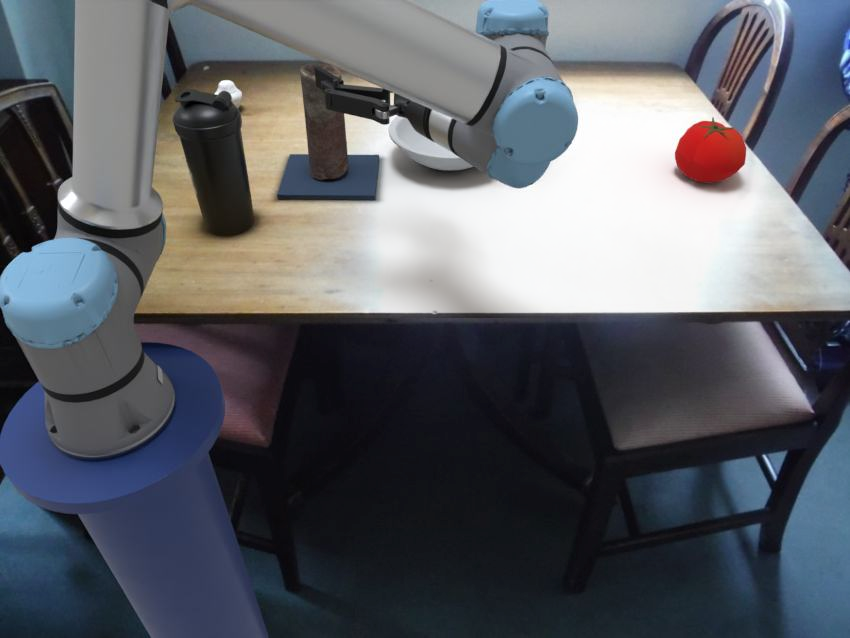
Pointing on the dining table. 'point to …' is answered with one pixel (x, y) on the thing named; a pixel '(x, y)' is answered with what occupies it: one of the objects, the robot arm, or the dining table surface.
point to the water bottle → (215, 159)
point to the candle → (323, 128)
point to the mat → (330, 180)
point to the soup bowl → (423, 147)
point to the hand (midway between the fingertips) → (357, 66)
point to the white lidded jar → (230, 91)
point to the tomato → (710, 152)
